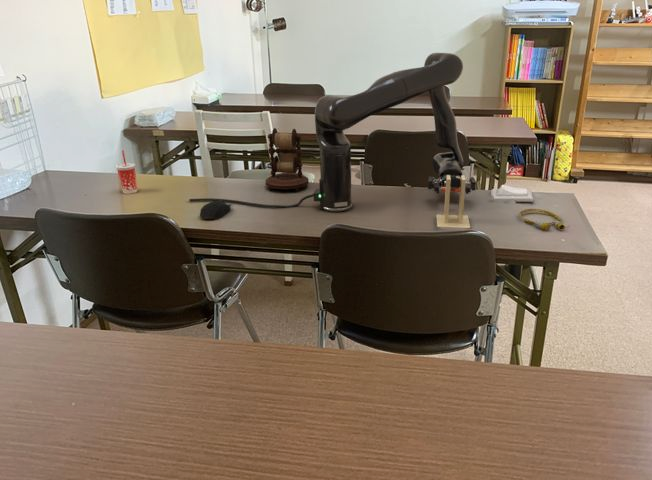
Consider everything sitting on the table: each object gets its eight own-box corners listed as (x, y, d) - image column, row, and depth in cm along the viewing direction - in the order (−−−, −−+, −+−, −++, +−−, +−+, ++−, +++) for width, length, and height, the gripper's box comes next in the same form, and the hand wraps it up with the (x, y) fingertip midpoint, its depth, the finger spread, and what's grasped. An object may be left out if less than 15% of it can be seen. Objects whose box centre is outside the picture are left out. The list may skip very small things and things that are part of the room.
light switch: (491, 181, 185) (531, 181, 182) (490, 193, 187) (530, 193, 184) (491, 191, 175) (534, 191, 173) (491, 203, 177) (533, 203, 174)
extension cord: (518, 229, 154) (518, 222, 154) (517, 211, 168) (518, 204, 167) (564, 233, 152) (565, 226, 151) (560, 214, 165) (561, 207, 165)
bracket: (436, 218, 163) (438, 172, 157) (467, 219, 162) (471, 172, 156) (437, 230, 154) (439, 182, 148) (470, 231, 153) (474, 182, 147)
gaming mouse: (239, 205, 174) (238, 193, 173) (214, 221, 161) (213, 208, 160) (221, 204, 176) (220, 191, 174) (195, 219, 163) (194, 206, 162)
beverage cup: (135, 194, 186) (128, 152, 180) (117, 194, 186) (109, 152, 180) (142, 188, 191) (135, 148, 186) (124, 189, 192) (117, 148, 186)
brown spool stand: (313, 181, 198) (310, 124, 189) (302, 194, 185) (299, 133, 176) (273, 180, 200) (269, 123, 192) (260, 192, 187) (255, 132, 179)
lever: (442, 193, 165) (442, 185, 165) (462, 194, 164) (463, 186, 164) (444, 187, 152) (444, 178, 152) (466, 187, 151) (467, 178, 151)
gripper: (428, 163, 177) (428, 177, 162) (474, 164, 175) (478, 178, 161) (427, 186, 180) (427, 202, 165) (472, 187, 178) (476, 203, 164)
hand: (452, 190), depth 163 cm, fingers open, 8 cm apart
